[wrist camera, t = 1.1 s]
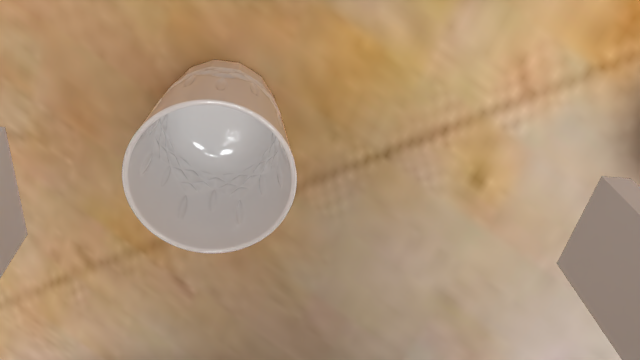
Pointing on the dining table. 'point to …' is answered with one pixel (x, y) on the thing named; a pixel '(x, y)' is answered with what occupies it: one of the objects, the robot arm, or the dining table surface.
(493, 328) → the dining table surface
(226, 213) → the white cup
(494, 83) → the dining table surface
